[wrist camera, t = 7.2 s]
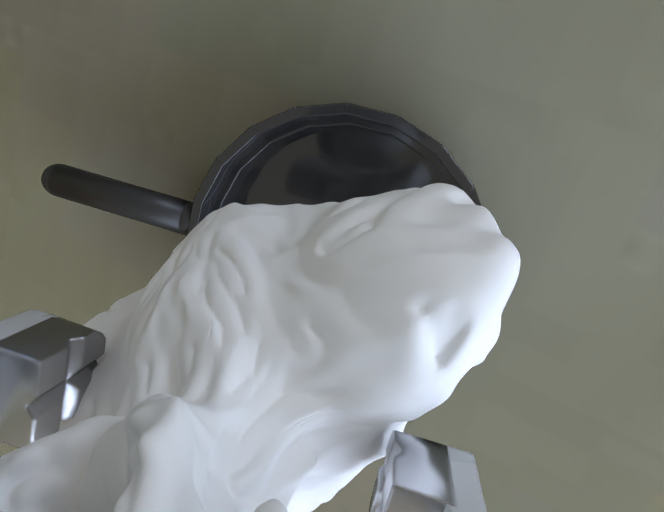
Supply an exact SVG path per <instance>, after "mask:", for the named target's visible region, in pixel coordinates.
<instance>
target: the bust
mask: <svg viewBox="0 0 664 512" xmlns="http://www.w3.org/2000/svg"><path fill="white" fill-rule="evenodd" d="M520 261H521V260H520V255H519V252H518V251H517V249H516V248H515V246H514V245H513V243H512V242H511V241H510V240H509V239H507V238H506V237H504V236H503V235H502V234H501V232H500V230H499V227H498V225H497V223H496V221H495V219H494V217H493V216H492V214H491V213H490V212H489V210H488V209H486V208H485V207H483V206H479V205H475V203H474V202H473V201H472V200H471V199H470V197H469V196H468V195H467V194H466V193H465V192H464V191H463V190H461V189H459V188H458V187H456V186H453V185H450V184H445V183H434V184H429V185H427V186H424V187H422V188H409V189H403V190H394V191H389V192H386V193H382V194H378V195H374V196H366V197H356V198H352V199H349V200H346V201H343V202H340V203H338V202H326V203H322V204H316V205H303V204H290V205H270V204H253V205H242V204H239V203H231V204H228V205H226V206H225V207H222V208H220V209H218V210H215V211H213V212H211V213H210V214H208V215H207V216H206V217H205V218H204V219H203V220H202V221H201V222H200V223H199V224H198V225H197V226H196V227H195V228H194V229H193V230H192V231H191V232H190V233H189V234H188V235H187V236H186V237H185V238H184V240H183V241H182V242H181V243H179V244H178V245H177V246H176V247H175V248H174V250H173V252H172V254H171V256H170V258H169V259H168V260H167V261H166V262H165V263H164V264H163V266H162V267H161V268H160V269H159V270H158V271H157V273H156V274H155V275H154V276H153V277H152V278H151V280H150V281H149V283H148V284H147V286H146V287H144V288H142V289H140V290H138V291H136V292H134V293H132V294H130V295H127V296H125V297H123V298H121V299H119V300H117V301H116V302H115V303H114V304H113V305H111V307H110V309H109V311H106V312H102V313H99V314H98V315H96V316H95V317H94V318H92V319H91V320H89V321H88V322H87V323H85V324H84V325H83V326H85V327H88V328H91V329H94V330H97V331H100V332H102V333H103V335H104V336H105V338H106V344H105V353H104V354H103V355H102V356H101V357H100V358H99V359H98V360H96V361H97V363H98V365H97V366H96V367H95V368H94V369H93V372H92V378H91V381H90V383H89V385H88V387H87V389H86V391H85V393H84V395H83V397H82V400H81V402H80V404H79V407H78V409H77V411H76V413H75V415H74V417H73V418H70V419H66V420H62V421H60V426H59V431H57V432H56V433H54V434H51V435H48V436H45V437H43V438H41V439H38V440H36V441H34V442H32V443H30V444H28V445H25V446H23V447H21V448H18V449H16V450H14V451H11V452H9V453H7V454H5V455H3V456H1V457H0V511H1V512H311V511H313V510H314V509H316V508H317V507H318V506H319V505H320V504H321V503H325V502H328V501H329V500H331V499H332V498H333V497H334V495H335V494H336V493H337V492H338V490H339V489H341V488H343V487H344V486H346V485H347V483H348V482H350V481H351V480H352V479H353V478H354V477H355V476H356V475H357V474H358V473H359V472H360V471H361V470H362V469H363V468H364V467H365V466H366V465H368V464H370V463H372V462H373V461H375V460H377V459H380V458H382V457H384V456H386V447H387V444H388V441H389V439H390V436H391V434H392V431H393V430H396V431H400V432H403V431H404V427H405V425H406V423H407V421H412V420H414V419H416V418H418V417H420V416H422V415H423V414H425V413H426V412H428V411H429V410H431V409H433V408H435V407H437V406H438V405H440V404H441V403H443V402H444V401H446V400H447V399H448V398H449V397H450V395H451V394H452V392H453V390H454V389H455V387H456V385H457V384H458V382H459V381H460V379H461V378H462V377H463V376H464V375H465V374H466V373H467V372H468V370H469V369H470V368H471V367H473V366H476V365H478V364H480V363H482V362H483V361H484V359H485V358H486V356H487V354H488V353H489V352H490V350H491V349H492V347H493V346H494V344H495V343H496V342H497V339H498V337H499V333H500V328H501V314H502V311H503V309H504V307H505V305H506V303H507V301H508V299H509V297H510V295H511V292H512V290H513V288H514V286H515V283H516V281H517V278H518V274H519V269H520Z"/></svg>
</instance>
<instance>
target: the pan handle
mask: <svg viewBox="0 0 664 512" xmlns="http://www.w3.org/2000/svg"><path fill="white" fill-rule="evenodd" d="M41 181H42V185H43V187H44V188H45V189H46V191H47V192H49V193H50V194H52V195H54V196H57V197H61V198H64V199H67V200H71V201H74V202H77V203H81V204H84V205H87V206H91V207H94V208H97V209H100V210H104V211H107V212H110V213H114V214H117V215H120V216H124V217H127V218H130V219H134V220H137V221H140V222H144V223H147V224H150V225H154V226H157V227H160V228H164V229H167V230H170V231H174V232H177V233H180V234H184V235H187V233H188V228H189V222H190V217H191V211H192V205H193V202H190V201H187V200H183V199H180V198H177V197H173V196H170V195H166V194H163V193H159V192H156V191H153V190H149V189H146V188H142V187H139V186H136V185H132V184H129V183H125V182H122V181H119V180H115V179H112V178H108V177H105V176H101V175H98V174H95V173H91V172H88V171H84V170H81V169H78V168H74V167H71V166H67V165H63V164H54V165H51V166H49V167H47V168H46V169H45V170H44V172H43V174H42V177H41Z"/></svg>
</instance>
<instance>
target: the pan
mask: <svg viewBox="0 0 664 512" xmlns="http://www.w3.org/2000/svg"><path fill="white" fill-rule="evenodd" d="M434 183H445V184H450V185H453V186H456V187H458V188H459V189H461V190H463V191H464V192H465V193H466V194H467V195H468V196H469V197H470V199H471V200H472V201H473V202H474V203H475V205H479V206H481V204H480V201H479V198H478V195H477V192H476V189H475V188H474V185H473V184H472V183H471V182H470V180H469V179H468V178H467V176H466V175H465V174H464V172H463V171H462V170H461V168H460V167H459V166H458V165H457V163H456V162H455V161H454V159H453V158H452V157H451V155H450V154H449V153H448V151H447V150H446V149H445V148H444V146H442V144H440V143H439V142H437V141H436V140H434V139H433V138H431V137H430V136H428V135H427V134H425V133H424V132H422V131H420V130H419V129H417V128H416V127H414V126H413V125H411V124H410V123H408V122H407V121H405V120H404V119H402V118H401V117H399V116H397V115H393V114H390V113H386V112H382V111H378V110H374V109H370V108H366V107H363V106H359V105H355V104H351V103H335V104H322V105H310V106H297V107H294V108H292V109H289V110H287V111H285V112H283V113H280V114H278V115H276V116H273V117H271V118H269V119H267V120H264V121H262V122H260V123H258V124H255V125H253V126H251V127H250V128H249V129H247V130H246V131H245V132H244V133H243V134H242V135H241V136H240V137H239V138H238V139H237V140H236V141H235V142H233V143H232V144H231V145H230V146H229V147H228V148H227V149H226V150H225V151H224V152H223V153H222V154H221V155H219V156H218V157H217V158H216V160H215V161H214V163H213V165H212V167H211V169H210V170H209V172H208V174H207V176H206V178H205V180H204V182H203V183H202V185H201V187H200V189H199V191H198V193H197V195H196V196H195V198H194V201H193V205H192V211H191V217H190V222H189V228H188V233H187V235H188V234H189V233H190V232H191V231H192V230H193V229H194V228H195V227H196V226H197V225H198V224H199V223H200V222H201V221H202V220H203V219H204V218H205V217H206V216H207V215H208V214H210V213H211V212H213V211H215V210H218V209H220V208H222V207H225V206H226V205H228V204H231V203H239V204H242V205H253V204H270V205H290V204H303V205H316V204H322V203H326V202H338V203H340V202H343V201H346V200H349V199H352V198H356V197H366V196H374V195H378V194H382V193H386V192H389V191H394V190H403V189H409V188H422V187H424V186H427V185H429V184H434Z"/></svg>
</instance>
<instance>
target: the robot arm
mask: <svg viewBox="0 0 664 512" xmlns="http://www.w3.org/2000/svg"><path fill="white" fill-rule="evenodd" d="M105 344H106V338H105V336H104V335H103V333H102V332H100V331H97V330H94V329H91V328H88V327H85V326H83V325H80V324H77V323H74V322H71V321H69V320H66V319H63V318H59V317H57V316H55V315H52V314H49V313H45V312H42V311H39V310H32V309H30V310H28V311H25V312H23V313H20V314H18V315H15V316H13V317H10V318H8V319H5V320H3V321H0V442H2V443H5V444H8V445H11V446H14V447H17V448H21V447H23V446H25V445H28V444H30V443H32V442H34V441H36V440H38V439H41V438H43V437H45V436H48V435H51V434H54V433H56V432H57V431H59V426H60V421H62V420H66V419H70V418H73V417H74V415H75V413H76V411H77V409H78V407H79V404H80V402H81V400H82V397H83V395H84V393H85V391H86V389H87V387H88V385H89V383H90V381H91V378H92V372H93V369H94V368H95V367H96V366H97V365H98V363H97V361H96V360H98V359H99V358H100V357H101V356H102V355H103V354H104V353H105ZM0 512H1V511H0ZM369 512H487V511H486V507H485V502H484V498H483V493H482V489H481V484H480V480H479V475H478V471H477V466H476V462H475V458H474V455H473V454H472V453H471V452H467V451H464V450H460V449H457V448H453V447H450V446H446V445H443V444H439V443H436V442H433V441H429V440H426V439H423V438H420V437H416V436H413V435H410V434H406V433H403V432H400V431H396V430H393V431H392V434H391V436H390V439H389V441H388V444H387V447H386V456H385V464H384V465H383V466H381V467H380V468H379V471H378V474H377V478H376V481H375V484H374V488H373V492H372V496H371V501H370V507H369Z"/></svg>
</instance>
